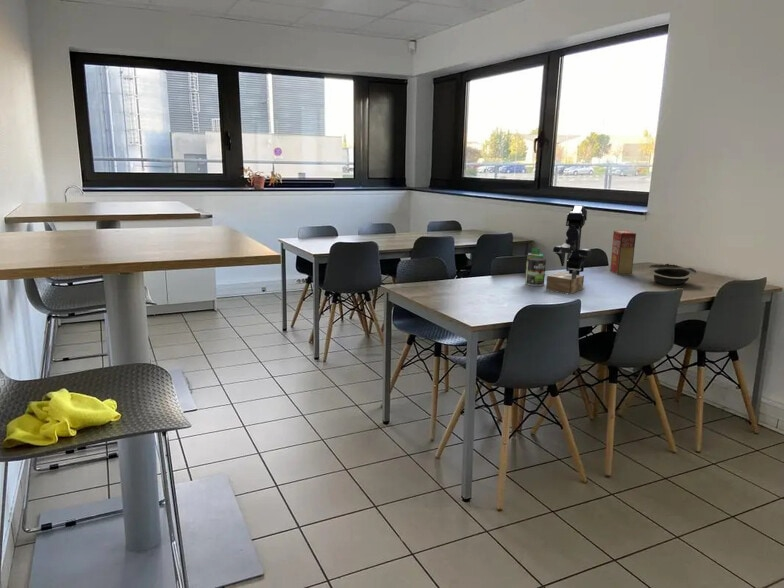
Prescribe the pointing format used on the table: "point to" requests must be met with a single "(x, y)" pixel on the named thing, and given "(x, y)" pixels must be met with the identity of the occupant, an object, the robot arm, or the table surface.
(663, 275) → the stone bowl
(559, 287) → the carton
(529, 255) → the chalk box
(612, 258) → the food packaging
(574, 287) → the side flap
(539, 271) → the coffee can
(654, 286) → the table surface
